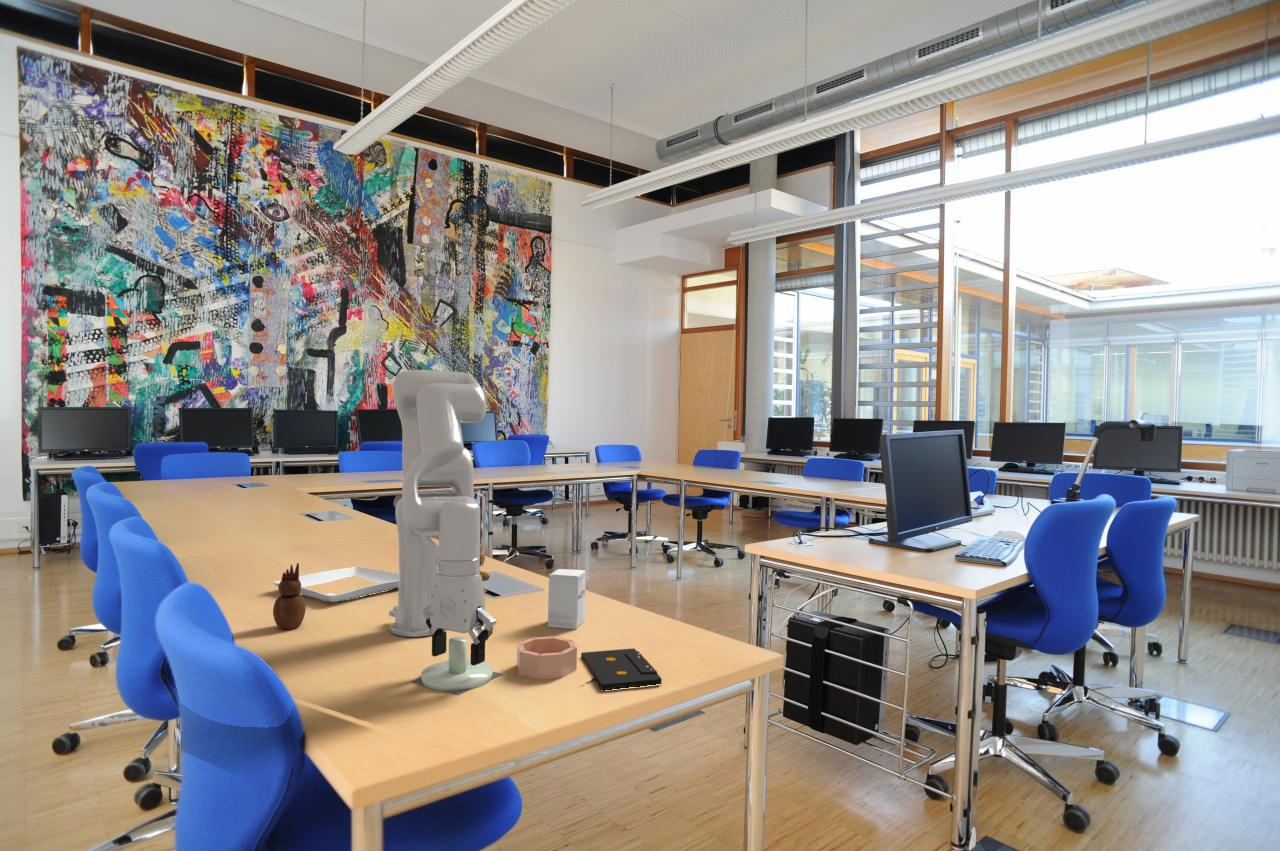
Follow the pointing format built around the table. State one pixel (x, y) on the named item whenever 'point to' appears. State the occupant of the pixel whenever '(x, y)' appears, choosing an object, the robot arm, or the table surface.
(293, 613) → the wooden figurine
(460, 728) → the table surface
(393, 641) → the table surface
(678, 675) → the table surface
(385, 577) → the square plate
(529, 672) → the bowl
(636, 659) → the cassette tape
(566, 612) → the supplement box
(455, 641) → the lid
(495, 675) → the mat
